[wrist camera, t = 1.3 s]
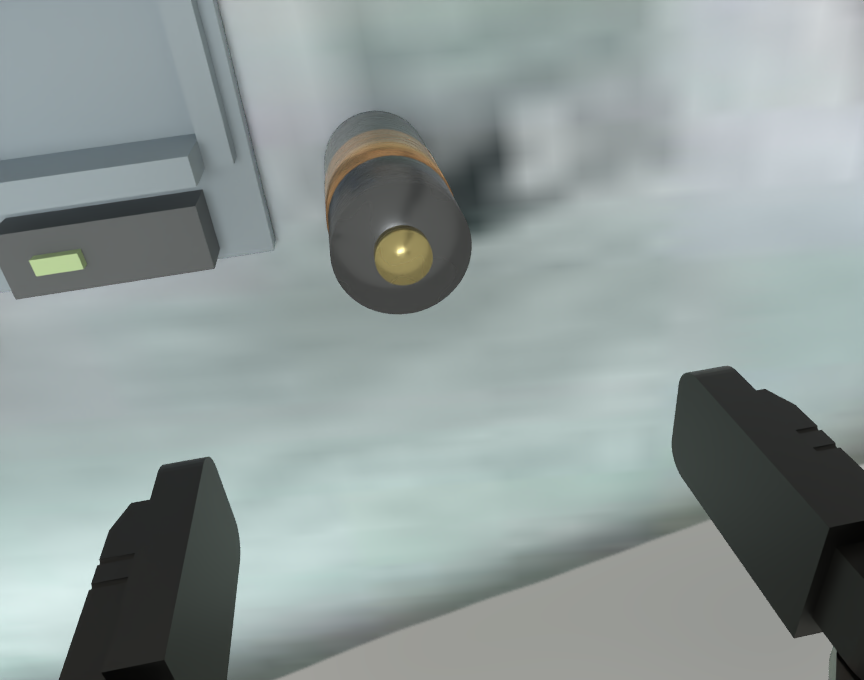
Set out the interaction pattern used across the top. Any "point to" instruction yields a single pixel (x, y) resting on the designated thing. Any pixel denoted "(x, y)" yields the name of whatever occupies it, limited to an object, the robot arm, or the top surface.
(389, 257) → the cell
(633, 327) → the top surface
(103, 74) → the tray
